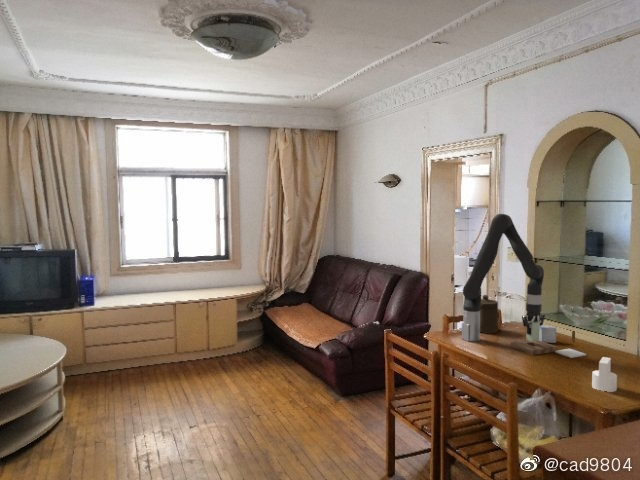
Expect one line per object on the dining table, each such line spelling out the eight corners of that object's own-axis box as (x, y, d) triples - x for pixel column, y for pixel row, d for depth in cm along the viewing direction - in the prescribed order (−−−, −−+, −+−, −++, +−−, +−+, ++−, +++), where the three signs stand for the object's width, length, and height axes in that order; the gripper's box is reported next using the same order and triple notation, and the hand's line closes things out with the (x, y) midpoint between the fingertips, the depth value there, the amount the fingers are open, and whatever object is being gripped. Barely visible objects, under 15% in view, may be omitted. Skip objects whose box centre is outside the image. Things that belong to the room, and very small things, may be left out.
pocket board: (532, 355, 246) (532, 350, 246) (510, 346, 261) (510, 341, 261) (556, 351, 252) (556, 346, 252) (533, 343, 267) (533, 338, 267)
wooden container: (485, 326, 304) (485, 292, 303) (503, 331, 291) (503, 296, 289) (467, 329, 298) (467, 294, 296) (484, 334, 285) (485, 298, 283)
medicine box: (553, 340, 271) (553, 325, 270) (556, 343, 266) (556, 327, 266) (538, 340, 272) (538, 325, 271) (541, 342, 267) (541, 327, 266)
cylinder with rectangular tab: (594, 382, 209) (594, 355, 208) (618, 387, 203) (619, 359, 202) (590, 388, 202) (590, 360, 201) (614, 393, 196) (615, 365, 195)
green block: (532, 341, 253) (533, 323, 253) (526, 339, 258) (526, 321, 257) (539, 340, 255) (539, 322, 254) (532, 338, 259) (533, 320, 258)
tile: (571, 358, 241) (571, 356, 241) (555, 352, 250) (555, 350, 250) (585, 355, 244) (586, 354, 244) (569, 349, 254) (569, 348, 254)
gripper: (539, 300, 260) (537, 330, 262) (518, 302, 256) (517, 333, 257) (549, 302, 253) (548, 334, 255) (528, 305, 249) (527, 337, 250)
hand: (532, 333), depth 256 cm, fingers closed on green block, 4 cm apart
